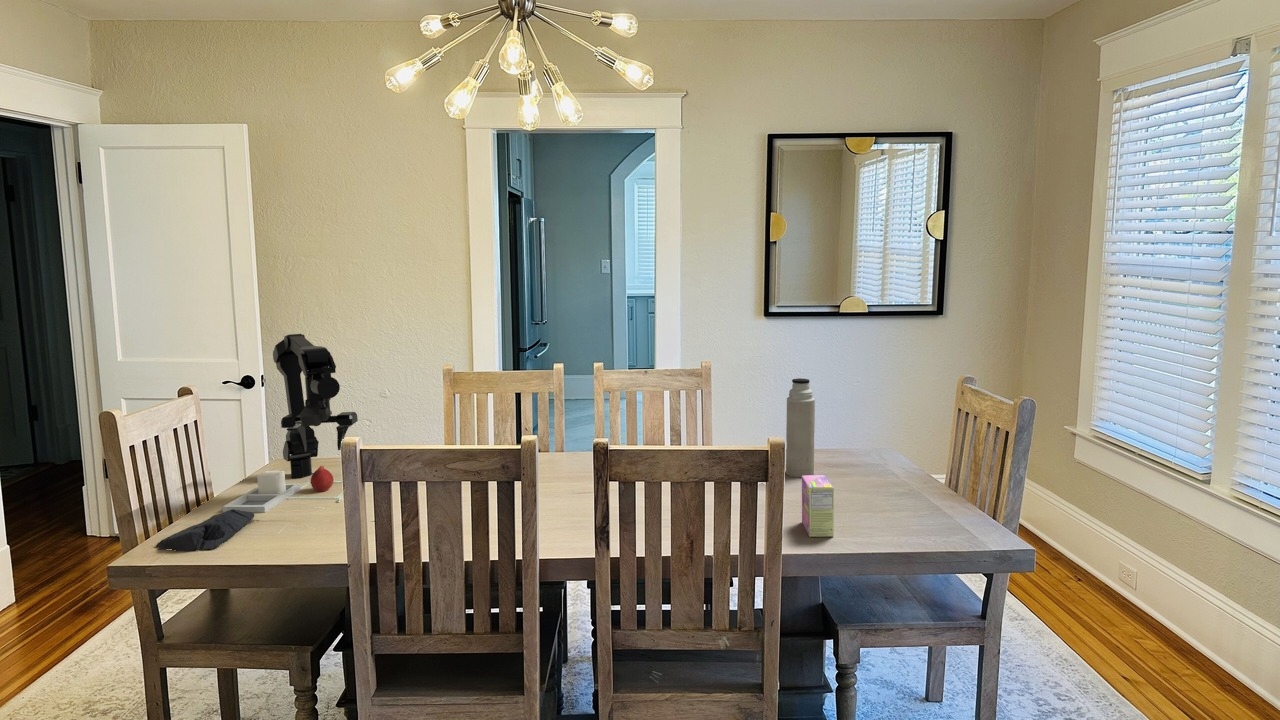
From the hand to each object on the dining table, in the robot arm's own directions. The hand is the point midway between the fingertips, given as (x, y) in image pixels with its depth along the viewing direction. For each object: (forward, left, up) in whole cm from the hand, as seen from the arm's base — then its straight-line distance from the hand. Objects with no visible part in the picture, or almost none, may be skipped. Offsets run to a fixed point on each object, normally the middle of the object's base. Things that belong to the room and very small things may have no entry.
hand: (322, 450), depth 220 cm
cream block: (+2, -14, -12) cm, 18 cm away
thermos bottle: (-21, +132, -13) cm, 135 cm away
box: (+26, +129, -13) cm, 133 cm away
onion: (-2, -2, -13) cm, 13 cm away
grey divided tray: (+7, -14, -13) cm, 20 cm away
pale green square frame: (-2, -2, -13) cm, 13 cm away
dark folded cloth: (+30, -15, -13) cm, 36 cm away
